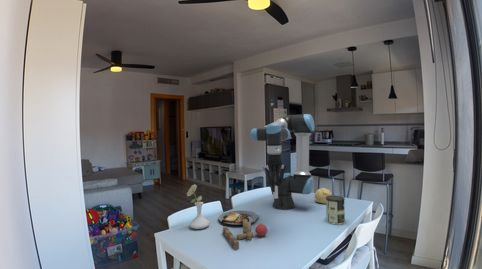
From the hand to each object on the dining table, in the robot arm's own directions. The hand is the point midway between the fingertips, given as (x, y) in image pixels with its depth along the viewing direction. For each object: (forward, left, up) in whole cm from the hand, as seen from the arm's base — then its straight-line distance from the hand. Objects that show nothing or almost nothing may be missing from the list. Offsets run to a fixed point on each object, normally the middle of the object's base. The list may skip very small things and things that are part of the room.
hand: (275, 197), depth 135 cm
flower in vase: (-24, -37, -19) cm, 48 cm away
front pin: (0, -13, -18) cm, 22 cm away
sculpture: (-34, +57, -19) cm, 69 cm away
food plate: (-26, -12, -19) cm, 34 cm away
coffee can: (0, +39, -19) cm, 43 cm away
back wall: (0, -26, -19) cm, 32 cm away
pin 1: (-2, -17, -19) cm, 25 cm away
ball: (+1, -9, -16) cm, 18 cm away
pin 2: (+3, -17, -19) cm, 25 cm away
